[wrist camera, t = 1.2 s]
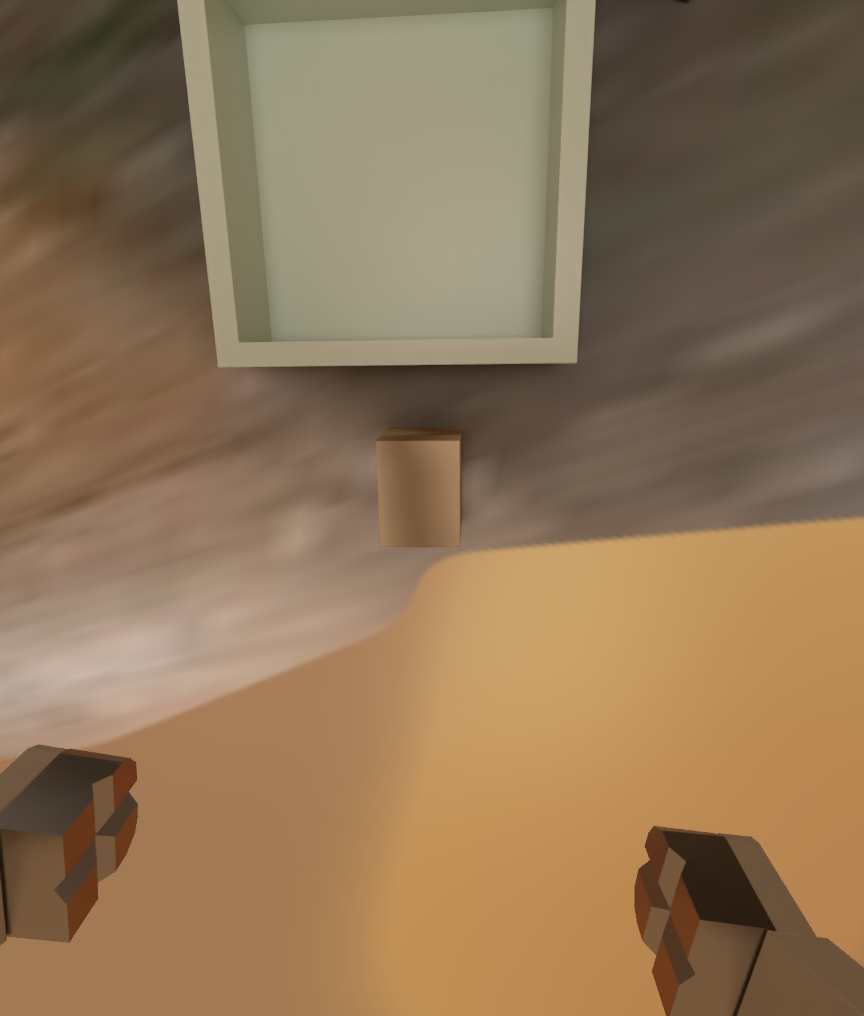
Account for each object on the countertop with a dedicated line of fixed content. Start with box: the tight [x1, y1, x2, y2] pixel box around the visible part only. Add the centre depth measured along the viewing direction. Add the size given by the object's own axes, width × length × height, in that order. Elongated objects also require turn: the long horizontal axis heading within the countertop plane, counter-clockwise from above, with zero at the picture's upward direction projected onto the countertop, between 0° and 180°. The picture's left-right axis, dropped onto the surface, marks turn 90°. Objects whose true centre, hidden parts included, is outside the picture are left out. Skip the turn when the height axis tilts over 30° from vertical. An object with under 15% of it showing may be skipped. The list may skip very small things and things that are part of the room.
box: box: [177, 0, 596, 367], centre depth 30 cm, size 18×18×6 cm
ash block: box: [376, 428, 462, 547], centre depth 35 cm, size 4×6×5 cm
